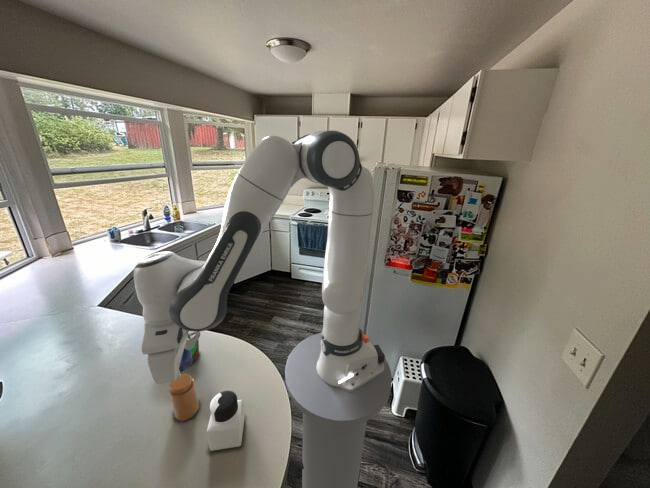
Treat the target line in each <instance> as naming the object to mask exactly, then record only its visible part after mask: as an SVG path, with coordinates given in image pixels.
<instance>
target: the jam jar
mask: <svg viewBox="0 0 650 488" xmlns="http://www.w3.org/2000/svg"><path fill="white" fill-rule="evenodd" d="M168 387H169V388H168V393H169V394H168V395H169V399H170V401H171V406H172V409H173V413H174V417H175V419H176V420H177V421H187V420H190V419H191V418H193V417H194V416H195V415H196V414H197V412H198V411H199V408H200V403H199V399H198V393H197V389H196V383H195V380H194V378H193V377H192V376H191V375H190V374H189V373H181V376H180V378H179V379H176V380H175V381H173V382H169V385H168Z"/></svg>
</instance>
